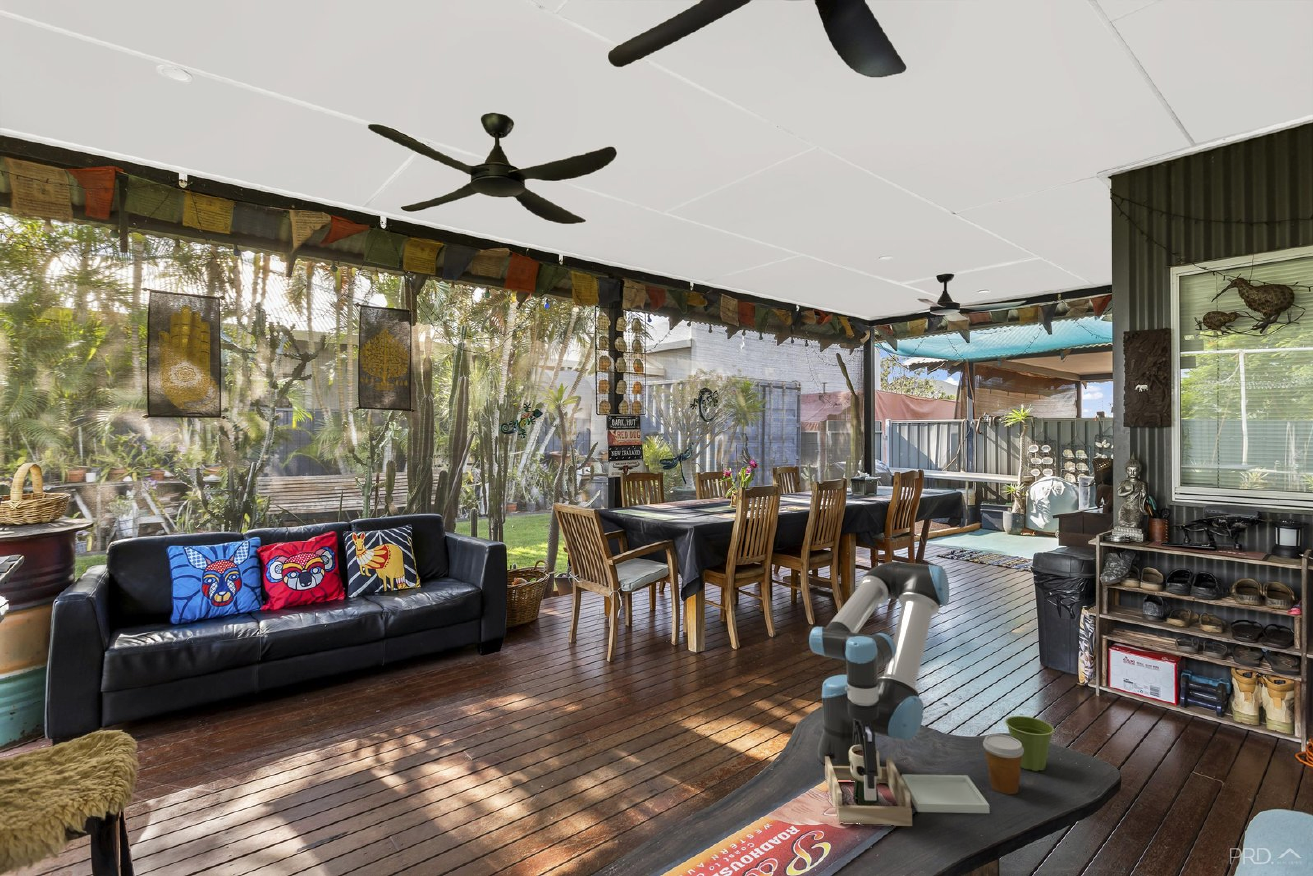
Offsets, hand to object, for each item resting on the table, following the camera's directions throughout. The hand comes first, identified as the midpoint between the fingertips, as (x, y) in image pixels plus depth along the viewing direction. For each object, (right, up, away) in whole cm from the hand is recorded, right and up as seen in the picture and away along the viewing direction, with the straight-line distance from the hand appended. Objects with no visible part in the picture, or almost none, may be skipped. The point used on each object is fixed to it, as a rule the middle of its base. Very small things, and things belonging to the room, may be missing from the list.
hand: (865, 787), depth 166 cm
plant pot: (+51, -2, +15) cm, 53 cm away
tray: (+20, -3, +1) cm, 21 cm away
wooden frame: (0, -4, 0) cm, 4 cm away
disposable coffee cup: (+38, -3, +5) cm, 38 cm away
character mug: (0, -4, 0) cm, 4 cm away
